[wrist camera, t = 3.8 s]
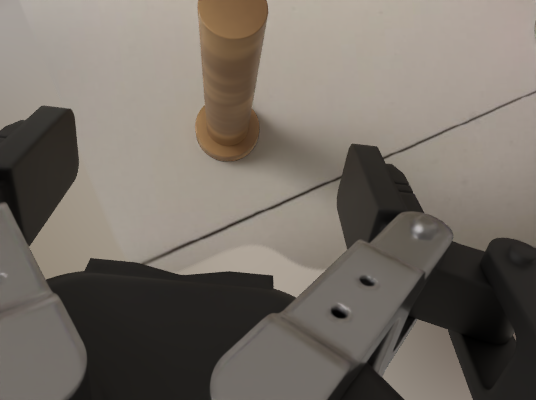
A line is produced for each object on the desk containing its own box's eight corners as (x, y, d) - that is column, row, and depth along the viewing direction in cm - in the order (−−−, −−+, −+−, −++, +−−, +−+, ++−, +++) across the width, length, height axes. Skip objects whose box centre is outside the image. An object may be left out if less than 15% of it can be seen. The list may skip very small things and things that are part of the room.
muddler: (211, 171, 29) (204, 72, 16) (186, 116, 29) (161, -21, 17) (268, 147, 30) (304, 34, 17) (242, 94, 30) (259, -54, 18)
